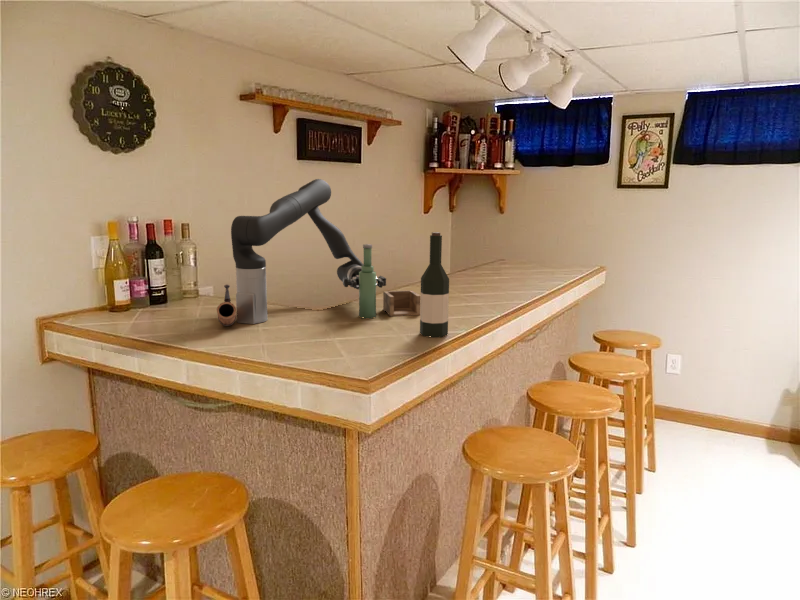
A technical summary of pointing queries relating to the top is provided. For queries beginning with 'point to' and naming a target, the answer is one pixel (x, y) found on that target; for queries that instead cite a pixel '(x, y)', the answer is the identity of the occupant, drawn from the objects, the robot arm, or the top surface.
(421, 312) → the wine bottle
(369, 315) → the slim bottle
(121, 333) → the top surface
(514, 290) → the top surface
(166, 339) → the top surface
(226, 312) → the brown tobacco pipe
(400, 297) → the u rest
